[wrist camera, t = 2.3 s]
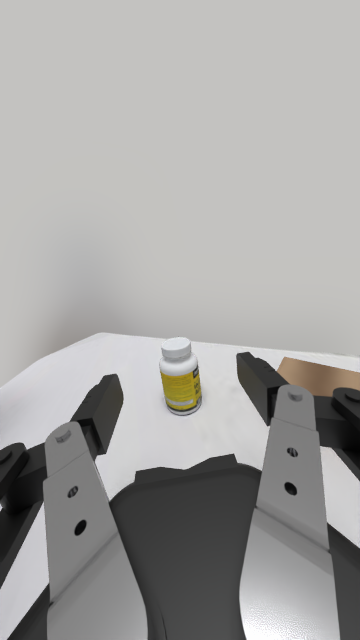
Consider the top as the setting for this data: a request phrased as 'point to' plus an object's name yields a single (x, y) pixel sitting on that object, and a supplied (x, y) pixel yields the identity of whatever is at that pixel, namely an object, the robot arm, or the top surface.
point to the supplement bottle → (180, 376)
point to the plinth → (317, 376)
